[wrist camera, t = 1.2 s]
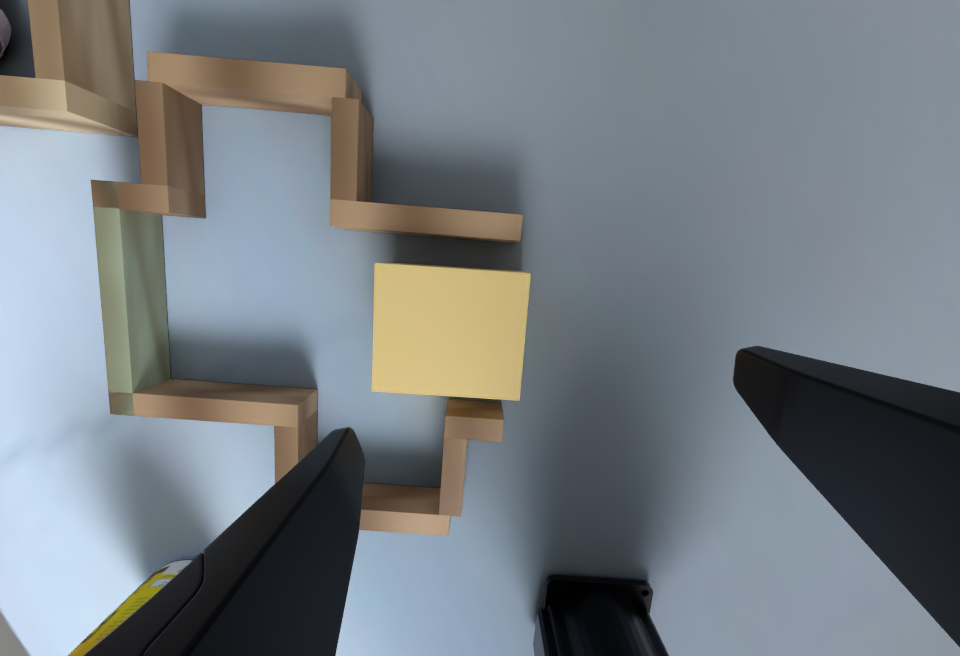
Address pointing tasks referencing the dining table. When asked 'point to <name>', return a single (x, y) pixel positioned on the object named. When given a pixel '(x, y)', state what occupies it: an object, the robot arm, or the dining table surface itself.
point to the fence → (75, 70)
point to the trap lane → (180, 192)
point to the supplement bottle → (131, 604)
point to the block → (449, 330)
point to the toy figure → (4, 32)
